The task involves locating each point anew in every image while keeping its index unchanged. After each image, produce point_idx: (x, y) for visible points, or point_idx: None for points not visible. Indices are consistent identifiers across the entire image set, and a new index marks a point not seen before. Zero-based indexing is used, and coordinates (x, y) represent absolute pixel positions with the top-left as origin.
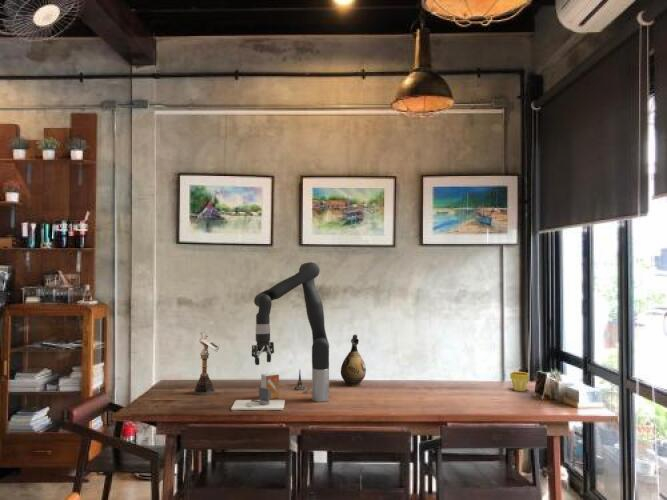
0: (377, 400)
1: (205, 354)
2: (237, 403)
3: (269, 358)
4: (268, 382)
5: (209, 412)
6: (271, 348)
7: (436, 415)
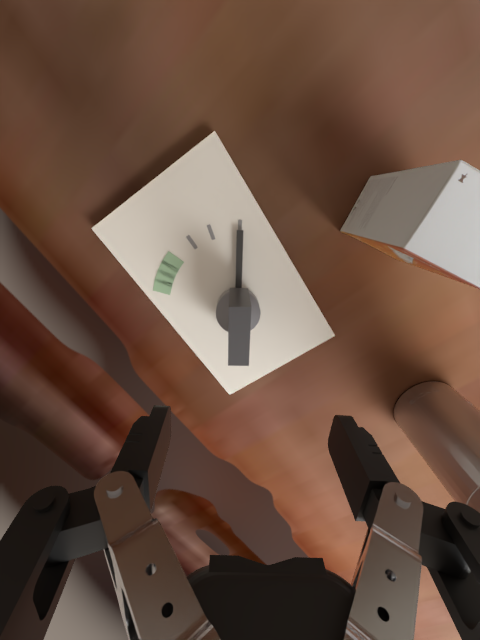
0: None
1: None
2: (169, 191)
3: (341, 479)
4: (391, 249)
5: (8, 144)
6: (473, 638)
7: None
